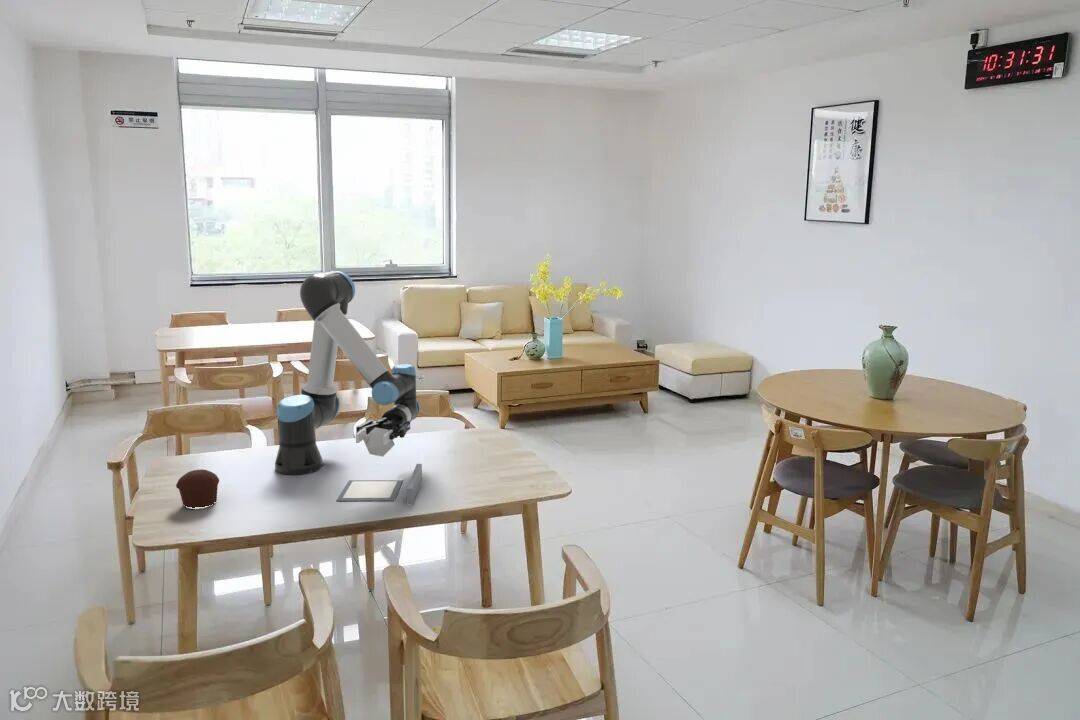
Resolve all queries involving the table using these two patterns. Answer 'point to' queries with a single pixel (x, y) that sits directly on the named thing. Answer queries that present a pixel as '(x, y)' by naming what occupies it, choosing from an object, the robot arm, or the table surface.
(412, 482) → the low wall
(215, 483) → the muffin
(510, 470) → the table surface
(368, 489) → the mat
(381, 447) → the die
